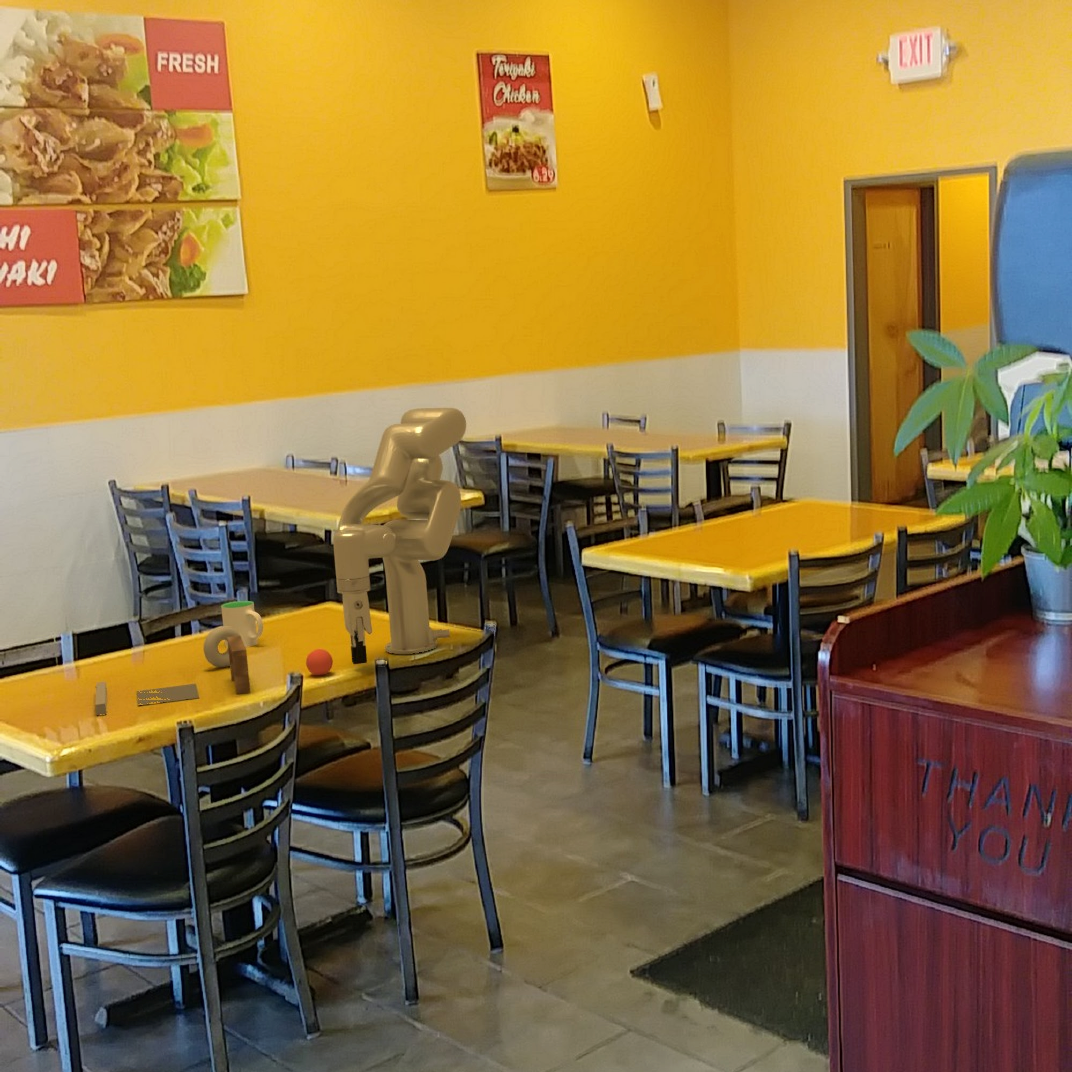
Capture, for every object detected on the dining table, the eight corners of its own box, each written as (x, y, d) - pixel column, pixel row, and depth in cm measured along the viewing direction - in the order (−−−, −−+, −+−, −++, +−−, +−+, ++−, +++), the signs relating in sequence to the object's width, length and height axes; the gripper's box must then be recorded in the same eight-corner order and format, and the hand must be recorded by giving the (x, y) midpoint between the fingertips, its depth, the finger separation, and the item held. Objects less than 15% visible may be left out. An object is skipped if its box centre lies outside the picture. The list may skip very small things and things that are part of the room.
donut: (210, 672, 331) (205, 631, 330) (202, 670, 334) (198, 629, 332) (247, 663, 338) (243, 622, 336) (239, 661, 340) (235, 621, 339)
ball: (331, 670, 326) (329, 645, 325) (335, 676, 320) (333, 650, 319) (305, 673, 324) (303, 648, 323) (309, 679, 318) (306, 653, 317)
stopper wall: (107, 692, 319) (105, 681, 318) (106, 714, 300) (105, 703, 300) (97, 693, 318) (96, 682, 318) (96, 716, 299) (95, 704, 299)
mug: (275, 643, 358) (271, 602, 356) (253, 650, 351) (249, 609, 349) (241, 639, 364) (237, 600, 362) (218, 646, 357) (214, 606, 356)
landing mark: (195, 684, 321) (195, 683, 321) (199, 698, 308) (199, 697, 308) (136, 692, 317) (136, 691, 317) (137, 706, 305) (137, 705, 305)
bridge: (244, 676, 325) (240, 635, 323) (250, 692, 310) (246, 649, 309) (231, 678, 324) (227, 637, 322) (236, 694, 310) (232, 651, 308)
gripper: (375, 588, 315) (381, 667, 318) (364, 577, 329) (370, 654, 332) (342, 591, 313) (348, 672, 316) (332, 581, 327) (338, 658, 330)
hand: (359, 662), depth 324 cm, fingers closed
